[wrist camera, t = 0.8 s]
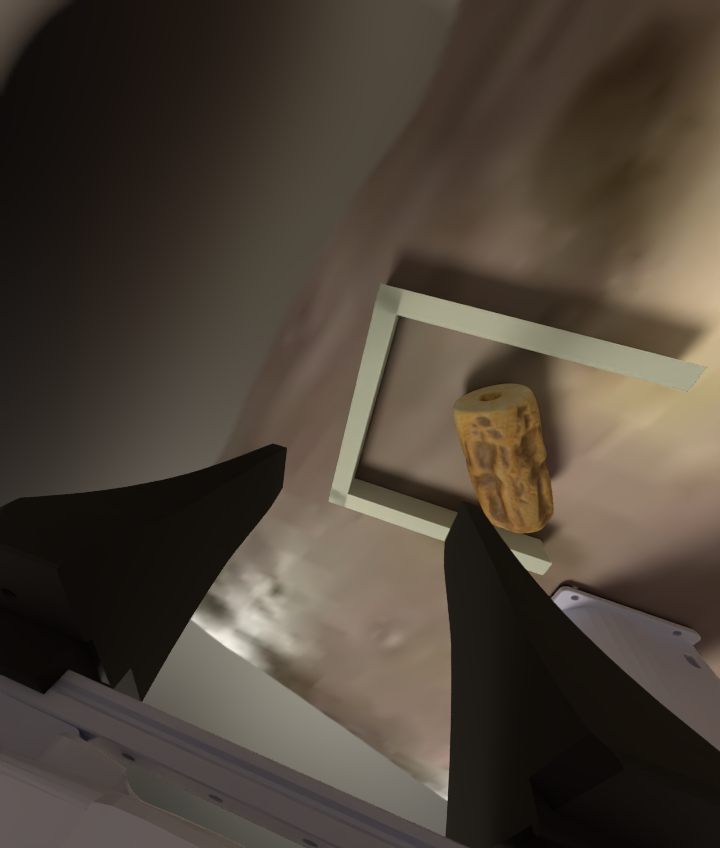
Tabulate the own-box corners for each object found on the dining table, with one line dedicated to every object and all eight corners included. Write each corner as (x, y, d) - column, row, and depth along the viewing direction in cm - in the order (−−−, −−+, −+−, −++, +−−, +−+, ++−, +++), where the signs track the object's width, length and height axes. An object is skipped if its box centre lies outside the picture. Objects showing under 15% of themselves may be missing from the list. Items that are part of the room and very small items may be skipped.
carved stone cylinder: (542, 491, 18) (572, 535, 15) (476, 501, 20) (488, 544, 16) (520, 374, 16) (548, 393, 12) (447, 395, 17) (453, 417, 14)
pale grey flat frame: (671, 359, 14) (707, 367, 12) (532, 551, 20) (542, 575, 18) (385, 285, 16) (380, 283, 14) (336, 485, 22) (328, 501, 20)
